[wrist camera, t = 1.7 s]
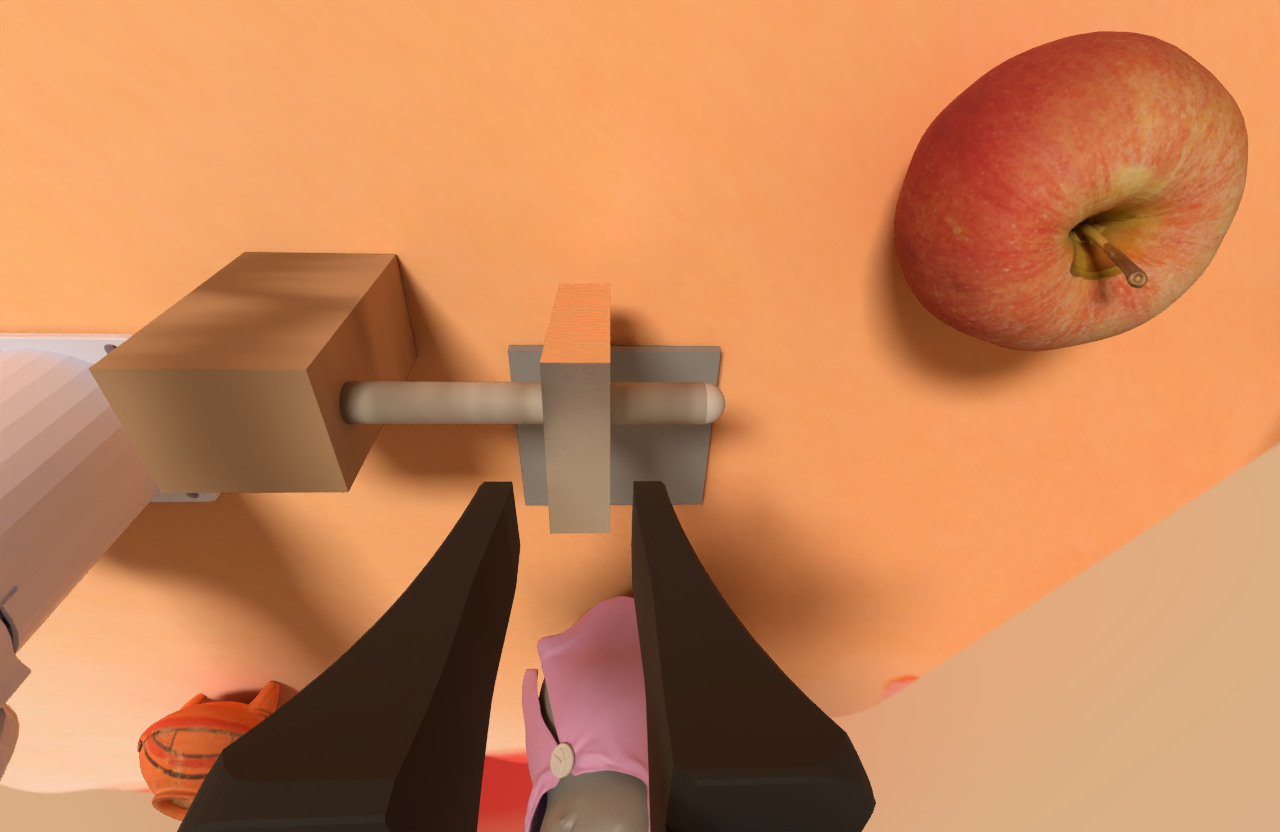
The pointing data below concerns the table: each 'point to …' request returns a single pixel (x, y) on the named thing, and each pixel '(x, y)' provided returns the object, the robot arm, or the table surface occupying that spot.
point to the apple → (1072, 192)
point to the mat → (631, 425)
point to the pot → (195, 745)
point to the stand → (310, 379)
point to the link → (578, 409)
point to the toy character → (589, 726)
